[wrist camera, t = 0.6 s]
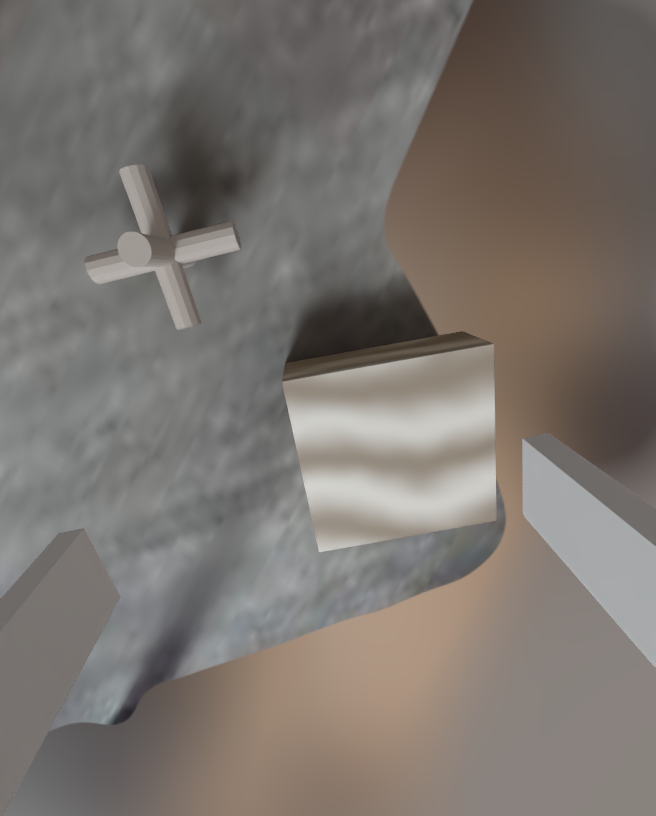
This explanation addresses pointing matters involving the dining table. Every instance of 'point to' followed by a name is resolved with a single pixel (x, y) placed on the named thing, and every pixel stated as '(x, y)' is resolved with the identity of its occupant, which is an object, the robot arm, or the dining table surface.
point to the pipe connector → (160, 248)
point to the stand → (396, 438)
